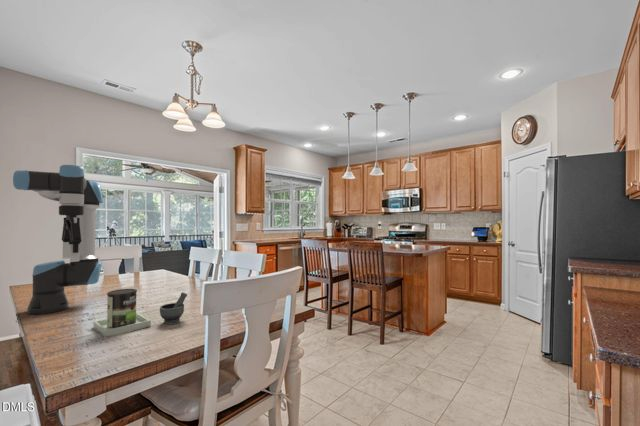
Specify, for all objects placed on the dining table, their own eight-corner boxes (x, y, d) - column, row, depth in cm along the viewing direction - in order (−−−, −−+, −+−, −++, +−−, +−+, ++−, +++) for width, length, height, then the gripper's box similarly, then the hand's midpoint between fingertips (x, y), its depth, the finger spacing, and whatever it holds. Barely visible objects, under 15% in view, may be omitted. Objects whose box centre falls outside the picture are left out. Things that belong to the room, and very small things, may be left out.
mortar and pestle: (163, 327, 126) (163, 298, 126) (156, 321, 133) (156, 294, 133) (190, 321, 134) (191, 293, 134) (183, 316, 141) (183, 290, 141)
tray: (93, 327, 126) (93, 321, 126) (136, 318, 138) (136, 312, 138) (104, 337, 115) (105, 331, 115) (150, 326, 127) (150, 320, 127)
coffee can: (142, 322, 131) (142, 289, 131) (122, 331, 121) (122, 295, 121) (121, 320, 133) (122, 287, 133) (100, 329, 123) (100, 293, 123)
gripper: (53, 205, 125) (52, 258, 124) (65, 203, 108) (65, 264, 108) (76, 206, 130) (75, 256, 130) (91, 204, 114) (91, 261, 114)
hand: (70, 260), depth 119 cm, fingers open, 13 cm apart
